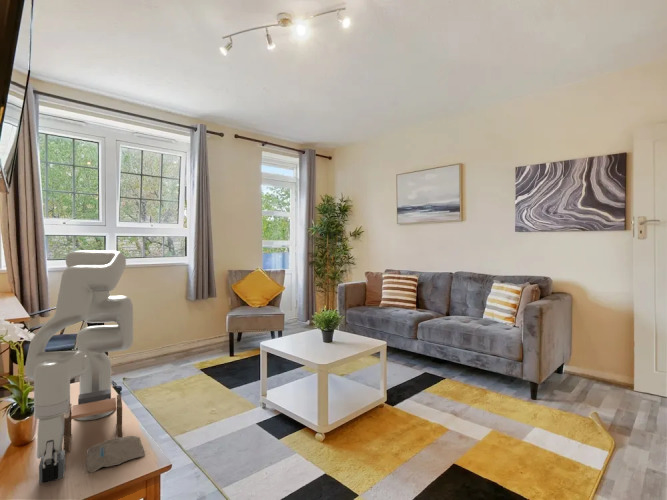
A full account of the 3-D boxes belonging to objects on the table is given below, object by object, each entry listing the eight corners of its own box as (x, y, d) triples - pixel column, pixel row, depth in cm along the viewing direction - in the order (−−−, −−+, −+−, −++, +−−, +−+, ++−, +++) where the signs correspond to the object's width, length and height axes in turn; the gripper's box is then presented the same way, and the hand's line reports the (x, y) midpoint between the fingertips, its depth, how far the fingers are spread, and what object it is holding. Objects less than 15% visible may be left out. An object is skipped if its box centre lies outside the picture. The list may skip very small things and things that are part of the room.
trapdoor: (74, 404, 119) (74, 395, 118) (114, 396, 125) (114, 388, 125) (70, 422, 107) (70, 413, 107) (116, 413, 113) (116, 404, 113)
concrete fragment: (144, 459, 103) (145, 439, 103) (86, 476, 95) (86, 454, 95) (142, 447, 109) (142, 427, 109) (87, 462, 101) (87, 441, 101)
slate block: (41, 473, 96) (41, 455, 96) (65, 467, 99) (65, 449, 99) (39, 484, 92) (39, 465, 92) (63, 477, 94) (63, 459, 94)
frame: (65, 437, 113) (65, 404, 113) (121, 424, 122) (121, 394, 121) (62, 453, 105) (62, 418, 104) (122, 438, 113) (122, 406, 113)
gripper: (39, 397, 100) (39, 458, 100) (28, 425, 85) (28, 496, 86) (72, 391, 104) (72, 450, 104) (67, 417, 89) (67, 485, 90)
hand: (52, 470), depth 95 cm, fingers open, 8 cm apart
